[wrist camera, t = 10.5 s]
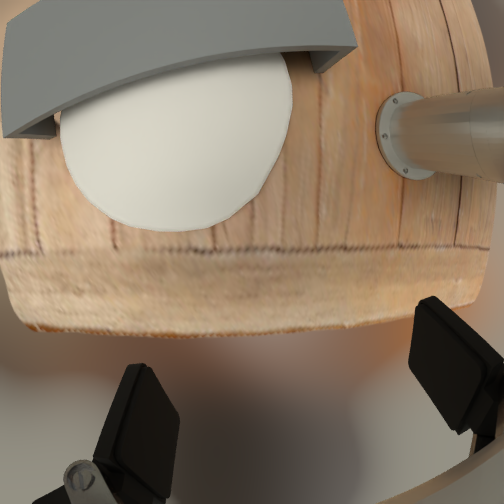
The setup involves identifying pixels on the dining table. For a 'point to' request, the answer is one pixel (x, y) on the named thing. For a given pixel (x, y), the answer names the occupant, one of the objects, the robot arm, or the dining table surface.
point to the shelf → (147, 46)
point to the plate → (180, 142)
